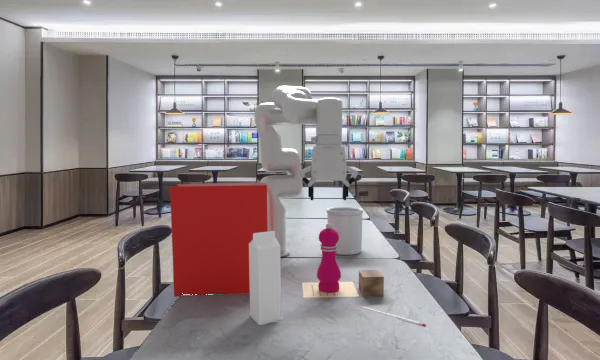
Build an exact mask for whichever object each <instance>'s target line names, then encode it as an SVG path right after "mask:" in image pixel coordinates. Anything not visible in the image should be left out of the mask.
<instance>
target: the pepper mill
mask: <svg viewBox="0 0 600 360" xmlns="http://www.w3.org/2000/svg"><path fill="white" fill-rule="evenodd" d="M331 228H332V225H331V224H330V223H328V222H327V223H326V224H325V228H323V229H322V230H321V231H320V232H319V234H318V240H319V242H320V251H321V260H320V263H319V265H318V268H317V270H316V277H317V279H318V282H319V290H320V291H322V292H326V293H332V292H337V291H338V290H339V282H340V280H341V277H342V272H341V269H340V267H339V264H338V261H337V258H336V255H337V254H336V250H337V244H336V243H337V242H338V240H339V235H338V232H337V231H336V230H334V229H331Z"/></svg>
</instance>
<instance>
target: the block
mask: <svg viewBox="0 0 600 360" xmlns="http://www.w3.org/2000/svg"><path fill="white" fill-rule="evenodd" d="M384 285H385V277H384V275H383V274H382V272H381V271H380V270H379V269H365V270H364V269H363V270H361V269H359V270H358V290H359V292H360V295H361V296H362V297H368V298H369V297H384V293H385V286H384Z"/></svg>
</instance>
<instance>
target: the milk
mask: <svg viewBox="0 0 600 360" xmlns="http://www.w3.org/2000/svg"><path fill="white" fill-rule="evenodd" d="M281 262H282V261H281V257H280V244H279V243H278V241H277V239H276V237H275V231H269V232H261V233H254V234H253V240H252V241H251V242H250V243H249V280H250V293H249V317H251V318H252V320H254V322H255V323H256V324H257V325H258V326H264V325H267V324H271V323H274V322H275V323H276V322H277V321H281V320H282V287H281V286H282V281H281V280H282V279H281V278H282V277H281V275H282V273H281V271H282V270H281Z"/></svg>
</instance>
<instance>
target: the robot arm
mask: <svg viewBox="0 0 600 360" xmlns="http://www.w3.org/2000/svg"><path fill="white" fill-rule="evenodd" d="M271 100H272V102H263V103H259V104H258V105H257V106H256V108H255V110H254V123H255V128H256V131H257V134H258V138H259V146H260V147H259V148H260V160H261V161H260V162H261V167H262V169H263V171H264V172H267V173H284V172H285V173H287V174H284V175H281V174H280V175H278V174H277V175H276V174H275V175H267V176H264V177H262V178H261V179H260V181H259V183H267V220H268V232H269V231H275V237H276V239H277V241H278V243H279V244H280V258H283V257H287V256H288V255H290V254H291V250H290V249H289V248H288V247H287V216H286V215H287V212H286V208H285V206H284V204H283V203H282V202H281V200H283V199H284V200H286V199H296V198H299V197H301V195H302V193H303V182H304V183H305V184H306V185H307V187H308V192H307V193H308V194H307V196H308V198H310V201H314V191H315V189H314V186H313V185H314V184H315V183H316V181H317V182H318V181H319V182H320V181H324V182H330V181H331V182H332V181H333V182H335V181H336V182H340V181H341V183H343V185H342V194H341V196H342V197H341V199H342V200H343V201H347V198H349V187H350V185H352V184H353V183H354V182H355V180H356V178H357V177H358V174H359V171H357V170H355V169H354V168H351V167H350V166H348V165H347V154H346V148H345V146H343V101H342V100H341V99H340V98H337V97H321V98H319V99H313V97H312V93H311V91H310V90H309V89H308V88H307V87H304V86H295V85H294V86H293V85H280V86H278V87H276V88H275V89H274V90H273V92H272V94H271ZM295 125H315V135H314V136H312V137H311V138H310V142H311V143H314V144H315V145H314V146H313V148H312V153H311V154H312V155H311V165H309V166H307V167H304V168H303V169H302V162H301V161H302V160H301V156H300V153H299V152H298V150H296V149H295V148H290V147H289V148H286V147H285V148H283V147H282V137H281V134H280V133H279V131H278V130H277V129H276V127H275V126H295ZM308 172H310V175H311V178H310V179H308V178H307V176H306V173H308ZM347 172H349V173H350V174H351V175H350V177H349V178H348V179H347V176H348V175H347Z"/></svg>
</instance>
